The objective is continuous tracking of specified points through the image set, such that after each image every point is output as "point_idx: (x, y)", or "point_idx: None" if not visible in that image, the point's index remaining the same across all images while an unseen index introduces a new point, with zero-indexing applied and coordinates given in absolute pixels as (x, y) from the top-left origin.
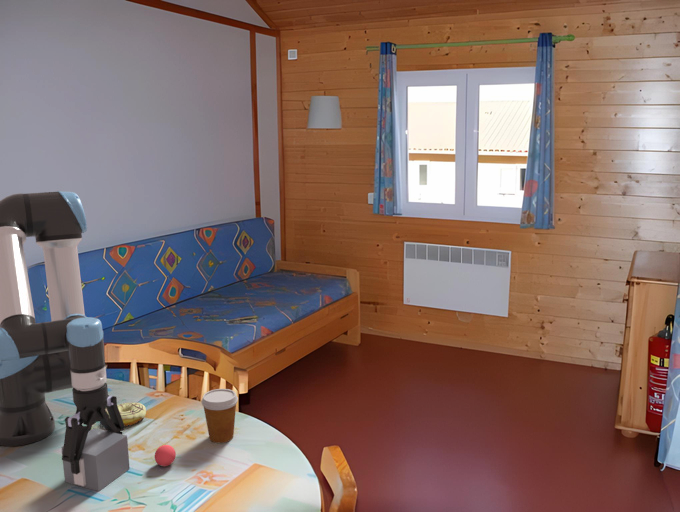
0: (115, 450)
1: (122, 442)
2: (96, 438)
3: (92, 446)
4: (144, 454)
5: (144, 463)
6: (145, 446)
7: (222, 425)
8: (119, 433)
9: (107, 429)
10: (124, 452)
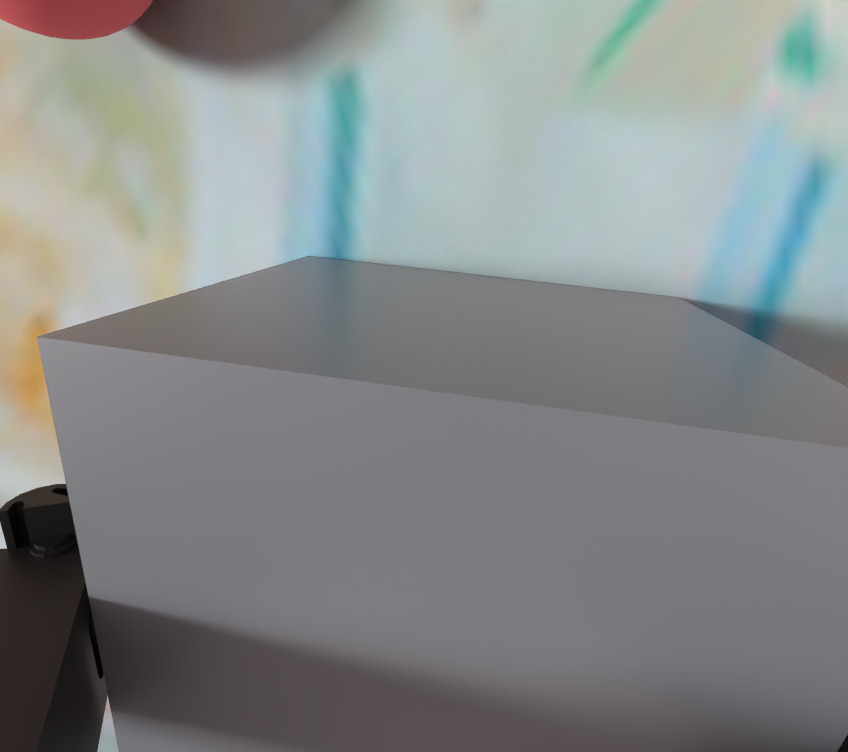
0: (409, 340)
1: (217, 332)
2: (343, 737)
3: (595, 689)
4: (92, 273)
5: (190, 184)
6: (10, 336)
7: None
8: (46, 526)
9: (90, 726)
10: (278, 291)
